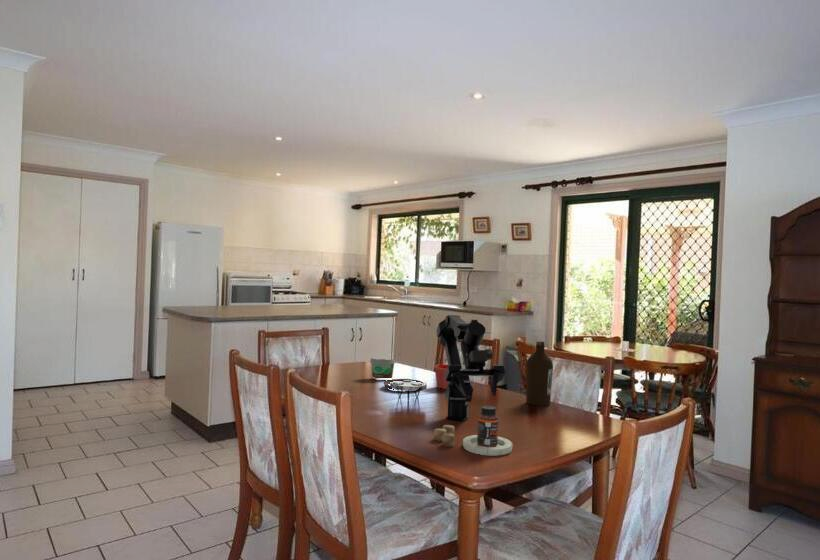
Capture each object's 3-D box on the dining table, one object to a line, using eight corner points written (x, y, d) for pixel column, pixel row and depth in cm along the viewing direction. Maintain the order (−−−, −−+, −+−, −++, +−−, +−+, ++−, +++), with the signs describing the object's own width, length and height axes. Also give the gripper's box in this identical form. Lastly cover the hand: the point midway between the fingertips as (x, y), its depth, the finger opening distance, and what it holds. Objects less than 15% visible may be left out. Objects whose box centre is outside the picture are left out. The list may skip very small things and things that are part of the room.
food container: (366, 380, 257) (367, 359, 257) (369, 378, 263) (370, 357, 263) (392, 382, 255) (393, 360, 255) (395, 379, 261) (395, 358, 261)
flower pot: (459, 390, 240) (460, 368, 240) (434, 390, 240) (435, 367, 240) (458, 386, 251) (458, 364, 250) (434, 385, 251) (434, 364, 251)
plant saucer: (392, 394, 229) (392, 387, 229) (377, 386, 245) (377, 379, 245) (430, 392, 236) (430, 385, 236) (413, 384, 252) (413, 377, 252)
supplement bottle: (492, 450, 157) (493, 410, 157) (473, 446, 160) (474, 407, 160) (500, 445, 162) (502, 407, 161) (482, 441, 165) (483, 403, 165)
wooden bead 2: (441, 436, 170) (441, 427, 170) (444, 433, 174) (445, 424, 174) (452, 438, 169) (452, 428, 169) (455, 435, 172) (455, 425, 172)
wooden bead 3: (445, 447, 160) (445, 437, 160) (440, 443, 163) (440, 433, 163) (456, 446, 161) (456, 436, 161) (451, 443, 164) (452, 433, 164)
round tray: (457, 451, 157) (457, 444, 157) (470, 438, 170) (471, 432, 170) (505, 458, 151) (506, 452, 151) (515, 444, 164) (516, 438, 164)
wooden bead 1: (434, 441, 165) (434, 431, 165) (434, 437, 169) (434, 428, 169) (446, 441, 165) (446, 431, 165) (445, 438, 169) (446, 428, 169)
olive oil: (523, 404, 217) (525, 342, 217) (526, 399, 227) (528, 339, 227) (550, 407, 214) (553, 343, 214) (552, 402, 224) (554, 341, 224)
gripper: (448, 339, 172) (456, 381, 161) (505, 339, 175) (516, 381, 164) (441, 360, 180) (449, 401, 169) (495, 360, 183) (506, 401, 172)
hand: (480, 396), depth 168 cm, fingers open, 9 cm apart
